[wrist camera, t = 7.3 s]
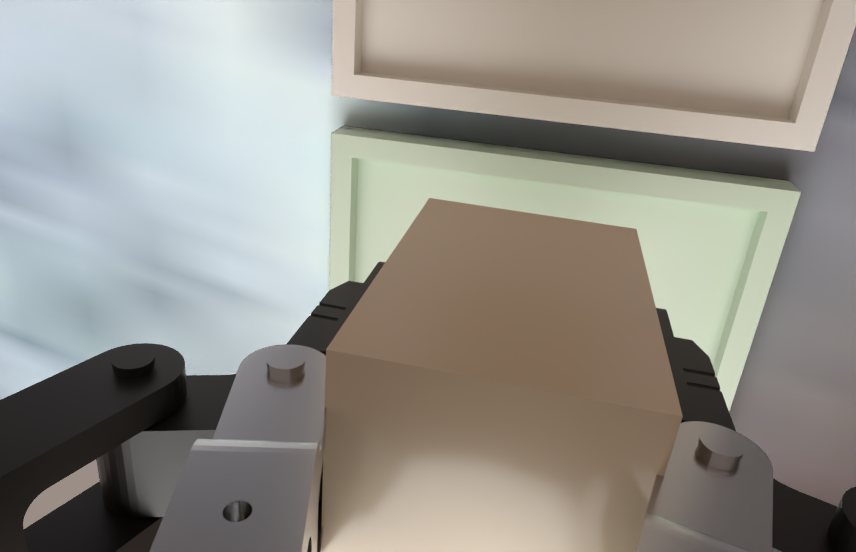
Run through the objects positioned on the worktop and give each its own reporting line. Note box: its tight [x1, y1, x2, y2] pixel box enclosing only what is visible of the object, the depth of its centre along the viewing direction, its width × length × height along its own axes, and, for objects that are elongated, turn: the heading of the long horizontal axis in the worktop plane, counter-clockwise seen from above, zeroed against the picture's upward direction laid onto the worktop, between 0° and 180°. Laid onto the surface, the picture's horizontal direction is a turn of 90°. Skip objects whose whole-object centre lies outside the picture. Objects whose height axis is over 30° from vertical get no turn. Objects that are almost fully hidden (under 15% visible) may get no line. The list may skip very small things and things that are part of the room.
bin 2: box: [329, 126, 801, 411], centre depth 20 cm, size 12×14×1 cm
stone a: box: [321, 198, 683, 552], centre depth 11 cm, size 4×4×6 cm
